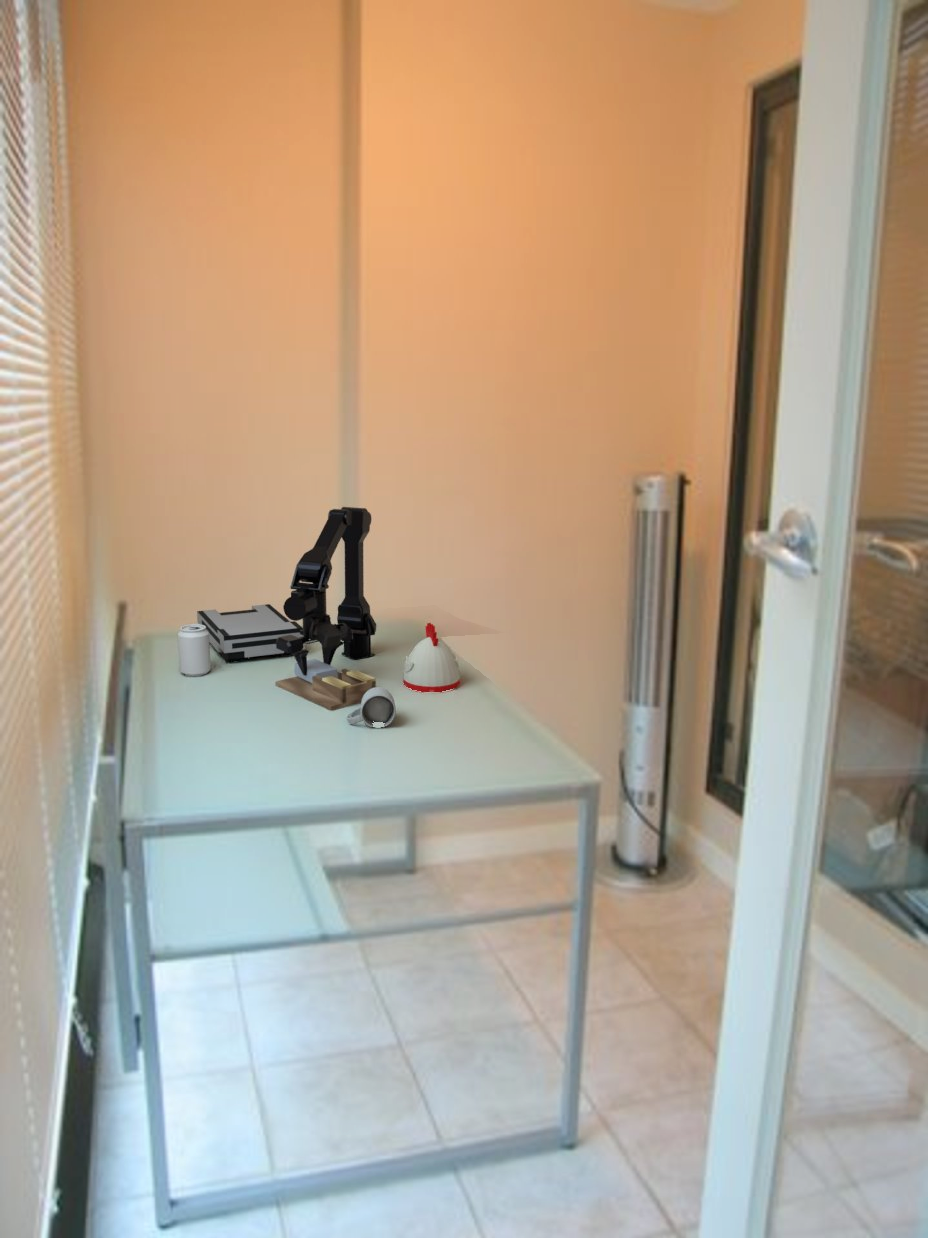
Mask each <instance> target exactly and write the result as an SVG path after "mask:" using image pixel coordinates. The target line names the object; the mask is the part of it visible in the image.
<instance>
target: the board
mask: <svg viewBox="0 0 928 1238" xmlns="http://www.w3.org/2000/svg"><path fill="white" fill-rule="evenodd" d="M376 679H377V678H376V677H373V676H370V675H369V674H366V673H363V672H360V671H358V670H356V669H355V670H350V669H347V668H342V669H341V672H339V671H338V679H337V678H334V677H332V676H329V677H325V678H320V677H318V676H312V683H310V682H308V681H306V680H304V679H302V678H300V677H298V676H296V675H295V676H293V677H288V678H285V679H284V678H283V679H280V680H276V681H275V686H276V687H278V688H281V689H282V690H285V691H287V692H289V693H291V694H293V695H296V696H298V697H301V698H303V699H304V700H307V701H309V702H311V703H313V704H315V705H318V706H320V707H322V708H324V709H327V710H329V711H330V712H331V711H334V710H338V709H339V710H340V709H342V708H347V707H350V706H354V705H357V704H361V701H362V698H363V696H364V694H365V693H366V692H367V691H368V690H369V689H372V688H375V687H377V686H376V683H377V682H376V681H377V680H376Z"/></svg>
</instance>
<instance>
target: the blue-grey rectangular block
mask: <svg viewBox="0 0 928 1238" xmlns="http://www.w3.org/2000/svg"><path fill="white" fill-rule="evenodd" d="M293 664H294V666H293V667H294V675H295V677H296V676H298V677H300V678H302V679H304V680H306V681H308V682H310V683H312V676H318V677H320V678H325V677H329V676H332V677H334V678H337V679H338V672H339V671H338V668H336V667H334V666H333V665H328V664H326V663H324V662H323V660H319V659H317V658H312V659H309V660H308V659H307V675H306V676H305V675H303V674H302V672H301V669H300V667H299V665H298V663H297V662H294V663H293Z"/></svg>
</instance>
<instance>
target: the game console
mask: <svg viewBox="0 0 928 1238" xmlns="http://www.w3.org/2000/svg"><path fill="white" fill-rule="evenodd" d="M196 618H197V624H201V625H204V626H206V630H207V631H208V632H209V643H210V646H211V645H212V646H211V647H212V648H213V649H214V651H216V653H217V654H218V655H219V656H220V658H222V660H223V661H224V662H225V663H226V664H231V663H238V662H247V661H250V658H253V657H260V656H261V657H262V656H270V655H273V656H274V657H275V658H278V657H279V658H280V657H288V656H293V655H292V653H286V652H284V651H282V650H279V649H277V648H276V641H277V639H278V638H279V637H282V636H287V635H293V636H295V637H298V638H300V637H303V635H301V634H300V630H303V626H302V625H300V624H299V623H298V622H297V621H294V620H292V621H291V620H289V618H288V617H287V618H286V617H285V616H284V614H282V613H281V612H280V611H278V610H277V609H276V608H275V607H274V606H272V605H271V604H270V603H266V604H258V605H257V604H255V605H251V609H245V610H243V609H242V610H235V611H223V612H218V610H217V609H206V610H205V609H204V610H197V611H196Z"/></svg>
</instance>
